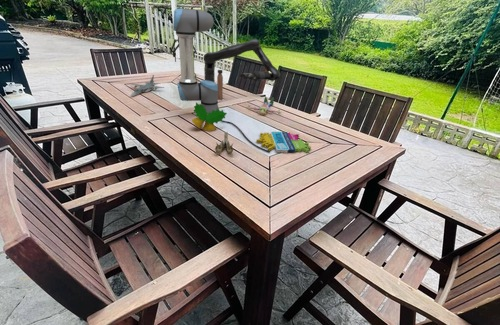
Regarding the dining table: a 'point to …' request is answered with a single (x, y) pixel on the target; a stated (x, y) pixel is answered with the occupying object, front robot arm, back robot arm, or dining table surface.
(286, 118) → the dining table surface
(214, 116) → the ornament
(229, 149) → the jawbone
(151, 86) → the airplane
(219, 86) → the bottle
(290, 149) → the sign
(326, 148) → the dining table surface
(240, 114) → the dining table surface
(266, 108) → the toy
